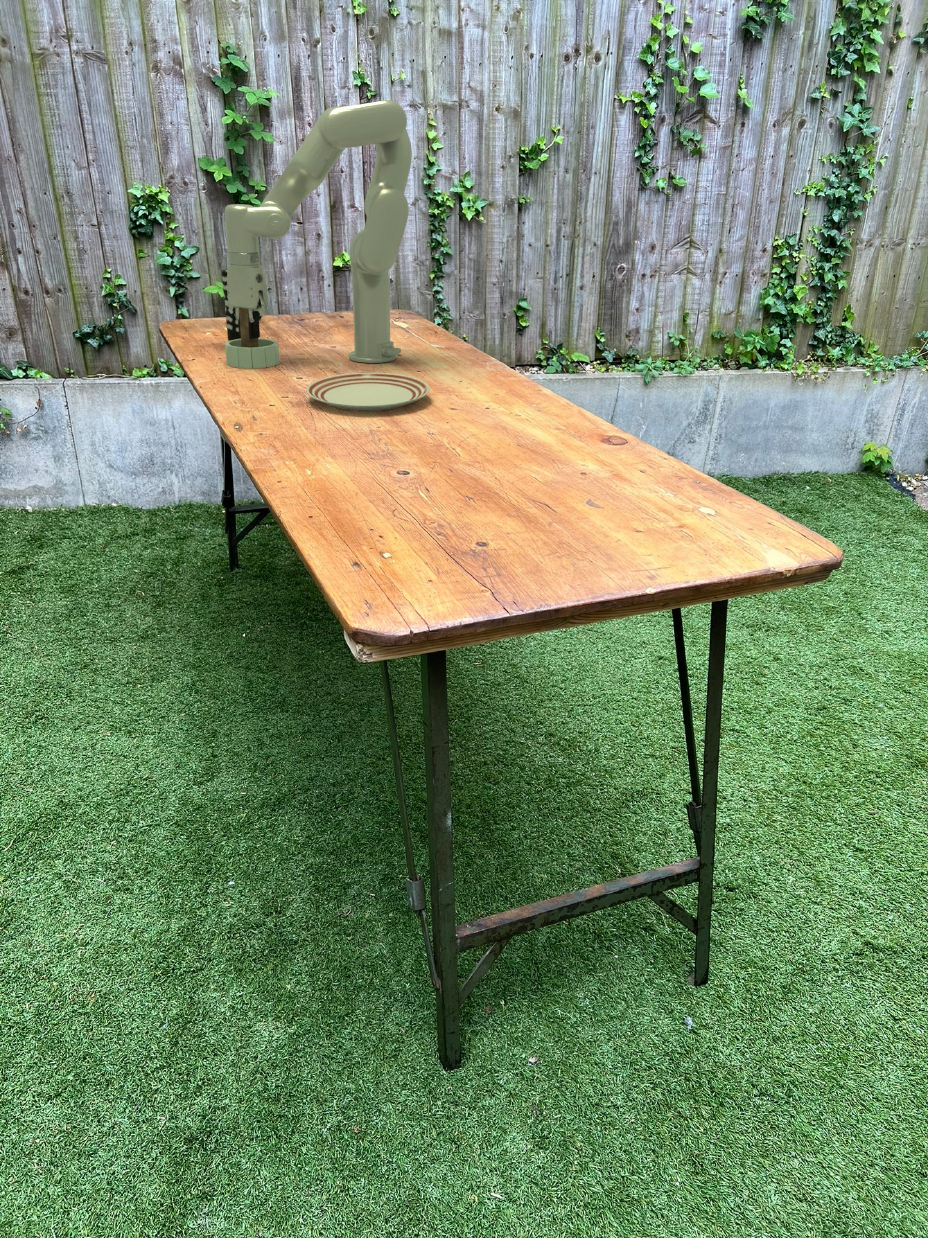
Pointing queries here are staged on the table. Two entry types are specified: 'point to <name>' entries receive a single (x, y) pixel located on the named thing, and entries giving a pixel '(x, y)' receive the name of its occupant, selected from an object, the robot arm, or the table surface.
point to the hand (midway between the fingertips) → (249, 336)
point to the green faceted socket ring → (252, 354)
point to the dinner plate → (368, 391)
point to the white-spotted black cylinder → (229, 312)
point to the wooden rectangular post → (246, 329)
